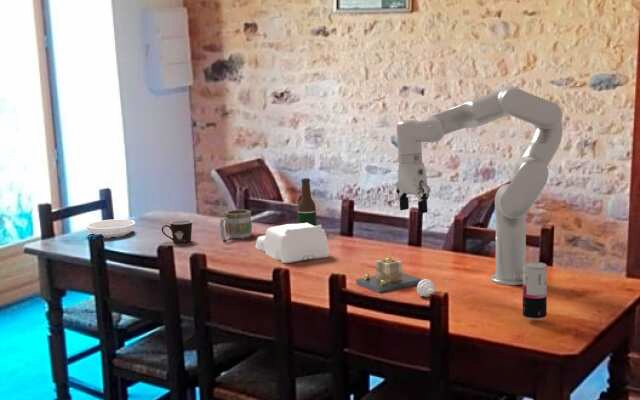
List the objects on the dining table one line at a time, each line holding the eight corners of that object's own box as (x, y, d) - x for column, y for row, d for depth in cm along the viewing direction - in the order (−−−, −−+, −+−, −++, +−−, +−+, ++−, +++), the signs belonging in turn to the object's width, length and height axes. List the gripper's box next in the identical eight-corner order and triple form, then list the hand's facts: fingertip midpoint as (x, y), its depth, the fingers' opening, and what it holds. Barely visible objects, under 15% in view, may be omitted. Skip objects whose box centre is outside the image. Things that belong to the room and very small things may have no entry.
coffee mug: (198, 245, 361) (196, 220, 359) (183, 250, 354) (182, 224, 352) (175, 243, 367) (174, 218, 365) (161, 247, 360) (159, 222, 358)
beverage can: (521, 318, 254) (521, 266, 252) (524, 312, 260) (524, 261, 258) (544, 320, 252) (545, 268, 249) (547, 313, 258) (548, 262, 255)
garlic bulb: (425, 301, 274) (425, 283, 273) (415, 296, 280) (415, 279, 279) (441, 298, 277) (440, 281, 276) (431, 294, 282) (430, 277, 281)
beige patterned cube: (402, 279, 294) (401, 261, 293) (387, 282, 291) (386, 264, 290) (391, 275, 299) (391, 258, 298) (376, 278, 296) (376, 260, 295)
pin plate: (422, 283, 294) (422, 258, 292) (379, 292, 285) (378, 266, 284) (398, 275, 305) (398, 250, 303) (356, 284, 296) (355, 258, 295)
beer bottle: (303, 239, 366) (301, 180, 361) (294, 236, 372) (292, 178, 368) (320, 237, 369) (318, 178, 365) (311, 234, 376) (309, 176, 372)
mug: (237, 237, 375) (236, 208, 372) (258, 239, 368) (256, 210, 366) (211, 244, 362) (210, 215, 360) (232, 247, 356) (230, 217, 354)
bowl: (130, 245, 366) (129, 227, 365) (82, 246, 367) (81, 229, 365) (140, 235, 385) (139, 218, 384) (94, 236, 386) (93, 219, 385)
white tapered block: (284, 267, 322) (282, 230, 320) (253, 251, 349) (251, 217, 347) (332, 260, 330) (331, 224, 328) (298, 245, 357) (297, 211, 355)
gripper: (436, 159, 285) (439, 212, 288) (403, 155, 300) (406, 206, 303) (417, 162, 282) (421, 216, 285) (385, 158, 296) (388, 210, 299)
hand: (413, 211), depth 294 cm, fingers open, 9 cm apart
